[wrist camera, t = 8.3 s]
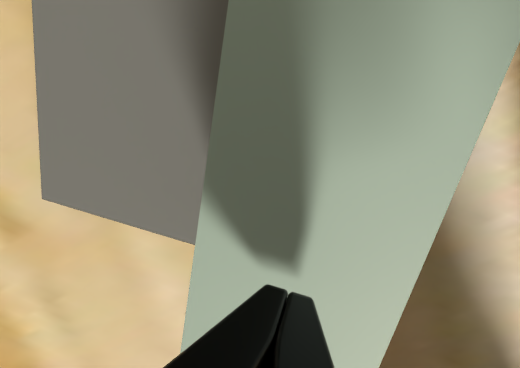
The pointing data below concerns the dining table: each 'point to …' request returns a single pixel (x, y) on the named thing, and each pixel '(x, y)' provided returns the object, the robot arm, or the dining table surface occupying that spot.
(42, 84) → the grey flat rectangular slab
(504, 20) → the beam
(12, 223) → the dining table surface
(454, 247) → the dining table surface
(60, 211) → the dining table surface
